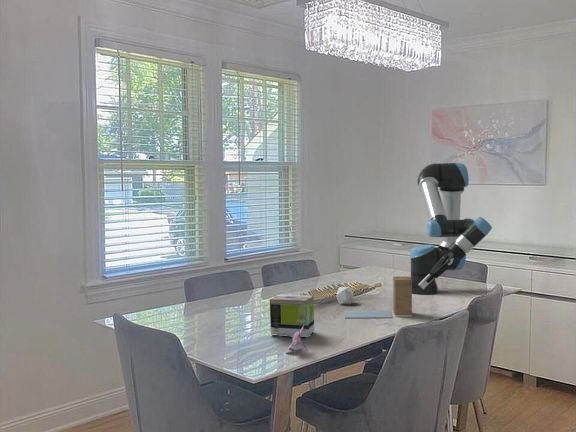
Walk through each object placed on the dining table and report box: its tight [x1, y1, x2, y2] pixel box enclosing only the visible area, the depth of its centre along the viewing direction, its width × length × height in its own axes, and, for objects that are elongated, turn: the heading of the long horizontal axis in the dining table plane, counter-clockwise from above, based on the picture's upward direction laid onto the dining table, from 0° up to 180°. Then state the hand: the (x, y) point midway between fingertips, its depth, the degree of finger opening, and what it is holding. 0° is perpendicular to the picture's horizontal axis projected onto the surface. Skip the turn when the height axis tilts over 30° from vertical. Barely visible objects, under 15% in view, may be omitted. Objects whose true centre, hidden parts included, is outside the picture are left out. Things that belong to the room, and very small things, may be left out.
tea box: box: [269, 293, 315, 338], centre depth 231 cm, size 15×10×15 cm
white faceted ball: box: [335, 286, 355, 305], centre depth 280 cm, size 8×9×10 cm
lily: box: [287, 327, 307, 351], centre depth 211 cm, size 11×11×9 cm
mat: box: [343, 309, 393, 319], centre depth 259 cm, size 12×20×1 cm, turn 87°
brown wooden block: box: [392, 275, 413, 318], centre depth 257 cm, size 7×7×16 cm
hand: (420, 286), depth 256 cm, fingers closed
